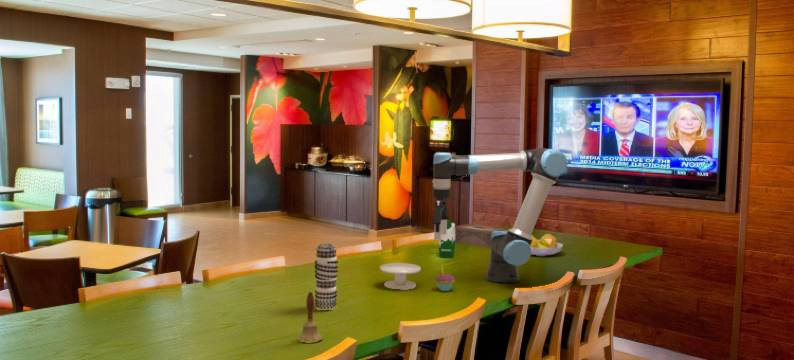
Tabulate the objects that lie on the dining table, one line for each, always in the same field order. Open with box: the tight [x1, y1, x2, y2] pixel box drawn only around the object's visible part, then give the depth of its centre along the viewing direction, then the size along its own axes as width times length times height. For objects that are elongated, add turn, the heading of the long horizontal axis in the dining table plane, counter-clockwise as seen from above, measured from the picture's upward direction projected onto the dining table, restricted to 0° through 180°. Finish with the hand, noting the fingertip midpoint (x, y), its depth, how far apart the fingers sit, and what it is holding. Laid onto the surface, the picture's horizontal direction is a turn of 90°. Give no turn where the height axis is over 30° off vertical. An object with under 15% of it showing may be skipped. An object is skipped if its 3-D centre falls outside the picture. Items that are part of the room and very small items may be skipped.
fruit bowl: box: [530, 233, 563, 257], centre depth 373 cm, size 28×27×11 cm
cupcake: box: [435, 263, 456, 292], centre depth 288 cm, size 9×8×12 cm
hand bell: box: [298, 291, 323, 341], centre depth 220 cm, size 8×8×16 cm
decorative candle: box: [314, 243, 339, 309], centre depth 256 cm, size 9×9×25 cm
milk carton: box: [438, 219, 456, 259], centre depth 358 cm, size 9×9×20 cm
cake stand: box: [379, 262, 422, 291], centre depth 293 cm, size 18×18×8 cm
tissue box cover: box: [455, 223, 506, 249], centre depth 399 cm, size 26×14×10 cm, turn 51°
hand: (440, 236), depth 289 cm, fingers open, 13 cm apart
